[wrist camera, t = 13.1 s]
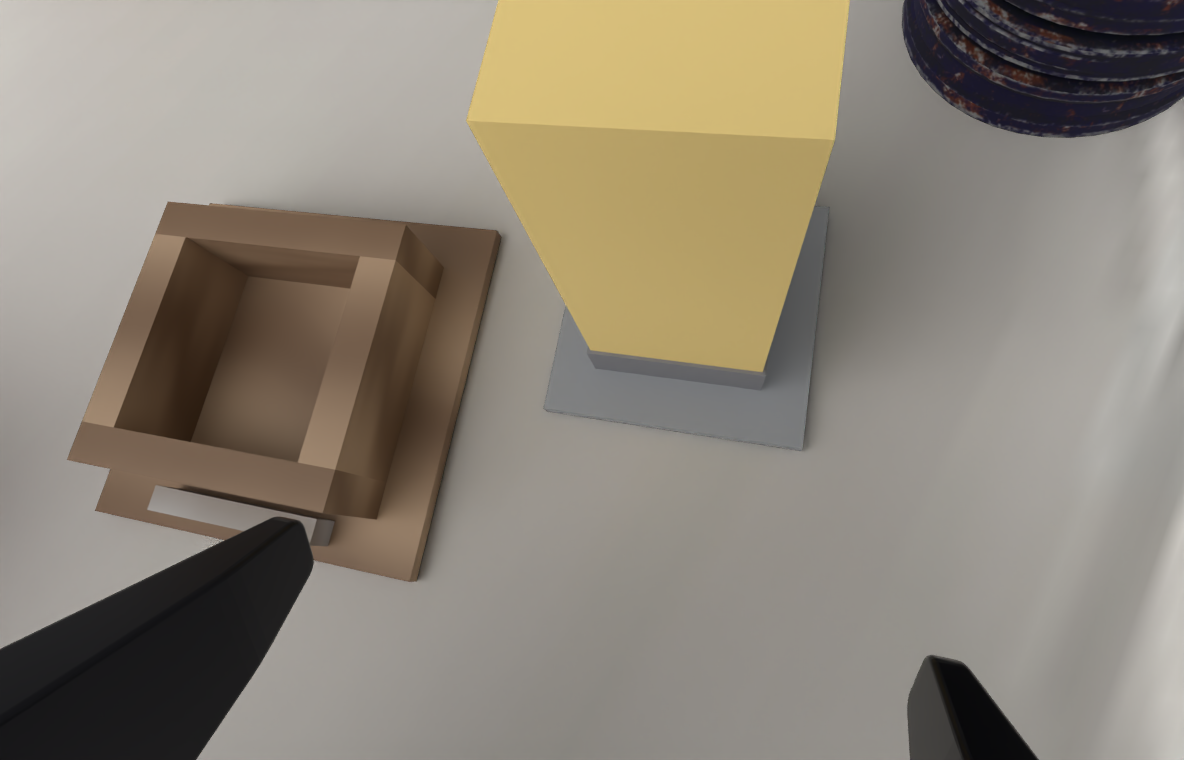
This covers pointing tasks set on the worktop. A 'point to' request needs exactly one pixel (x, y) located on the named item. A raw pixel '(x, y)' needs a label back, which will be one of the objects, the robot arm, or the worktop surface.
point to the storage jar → (1050, 60)
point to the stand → (703, 405)
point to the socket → (291, 378)
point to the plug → (665, 166)
